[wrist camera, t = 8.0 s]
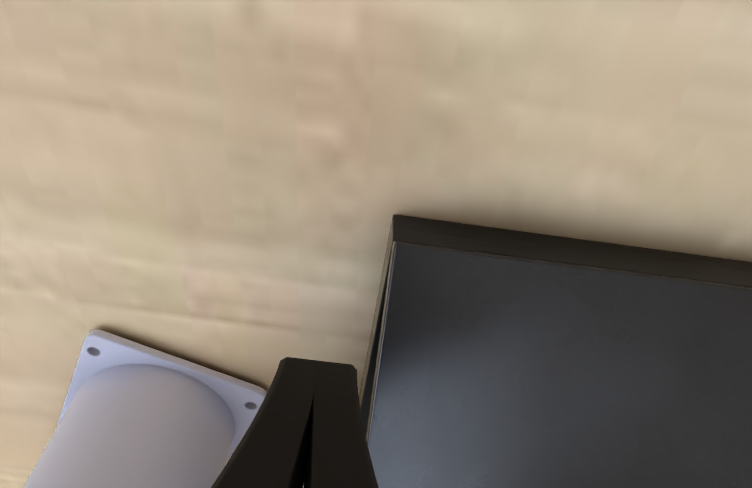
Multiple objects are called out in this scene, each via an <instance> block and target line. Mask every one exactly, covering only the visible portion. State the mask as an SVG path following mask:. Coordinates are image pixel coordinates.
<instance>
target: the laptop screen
mask: <svg viewBox="0 0 752 488" xmlns="http://www.w3.org/2000/svg"><path fill="white" fill-rule="evenodd" d="M366 440H367V445H368V449H369V453H370V457H371V461H372V465H373V468H374V472H375V476H376V480H377V483H378V487H379V488H752V287H745V286H737V285H729V284H722V283H714V282H706V281H699V280H691V279H684V278H676V277H668V276H661V275H653V274H646V273H638V272H630V271H623V270H615V269H608V268H600V267H592V266H585V265H577V264H569V263H562V262H554V261H547V260H539V259H531V258H524V257H516V256H509V255H501V254H493V253H486V252H478V251H470V250H463V249H455V248H448V247H440V246H432V245H425V244H417V243H410V242H402V241H394V242H393V245H392V252H391V259H390V266H389V274H388V281H387V288H386V296H385V303H384V310H383V317H382V325H381V332H380V339H379V347H378V354H377V361H376V369H375V376H374V383H373V390H372V398H371V405H370V412H369V420H368V427H367V434H366Z"/></svg>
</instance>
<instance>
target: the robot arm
mask: <svg viewBox="0 0 752 488" xmlns="http://www.w3.org/2000/svg"><path fill="white" fill-rule="evenodd" d="M96 348H97V349H96ZM241 439H242V440H241ZM239 442H240V443H239ZM238 444H239V445H238ZM237 445H238V446H237ZM236 447H237V448H236ZM235 448H236V450H235ZM234 450H235V451H234ZM233 451H234V453H233ZM232 453H233V455H232ZM231 455H232V456H231ZM230 456H231V458H230ZM229 458H230V460H229V461H228V459H229ZM227 461H228V463H227V464H226V462H227ZM225 465H226V466H225ZM303 484H304V488H379V487H378V483H377V480H376V476H375V472H374V468H373V465H372V461H371V457H370V453H369V449H368V445H367V440H366V436H365V431H364V426H363V421H362V416H361V410H360V403H359V396H358V386H357V370H356V369H355V368H354V366H353V365H349V364H341V363H332V362H324V361H316V360H307V359H299V358H290V357H286V358H284V359H283V360H281V361H280V364H279V366H278V369H277V372H276V375H275V377H274V379H273V381H272V384H271V386H270V388H269V390H268V392H267V391H266V390H265V389H263V388H262V387H259V386H257V385H254V384H251V383H248V382H245V381H243V380H240V379H237V378H234V377H231V376H229V375H226V374H223V373H220V372H217V371H215V370H212V369H209V368H206V367H203V366H201V365H198V364H195V363H192V362H189V361H187V360H184V359H181V358H178V357H175V356H173V355H170V354H167V353H164V352H161V351H159V350H156V349H153V348H150V347H147V346H145V345H142V344H139V343H136V342H133V341H131V340H128V339H125V338H122V337H119V336H117V335H114V334H111V333H108V332H105V331H102V330H92V331H90V332H89V333H88V334H87V336H86V338H85V339H84V343H83V346H82V349H81V352H80V355H79V358H78V361H77V364H76V367H75V371H74V374H73V377H72V380H71V383H70V386H69V389H68V392H67V395H66V399H65V402H64V405H63V408H62V411H61V414H60V417H59V420H58V423H57V427H56V430H55V432H54V434H53V435H52V437H51V439H50V441H49V442H48V444H47V446H46V448H45V449H44V451H43V453H42V455H41V456H40V458H39V460H38V462H37V463H36V465H35V467H34V469H33V470H32V472H31V474H30V476H29V477H28V479H27V481H26V483H25V484H24V486H23V488H303Z"/></svg>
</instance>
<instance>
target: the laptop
mask: <svg viewBox="0 0 752 488" xmlns="http://www.w3.org/2000/svg"><path fill="white" fill-rule="evenodd" d="M394 241H402V242H410V243H417V244H425V245H432V246H440V247H448V248H455V249H463V250H470V251H478V252H486V253H493V254H501V255H509V256H516V257H524V258H531V259H539V260H547V261H554V262H562V263H569V264H577V265H585V266H592V267H600V268H608V269H615V270H623V271H630V272H638V273H646V274H653V275H661V276H668V277H676V278H684V279H691V280H699V281H706V282H714V283H722V284H729V285H737V286H745V287H752V262H745V261H738V260H730V259H723V258H715V257H708V256H700V255H693V254H685V253H678V252H670V251H663V250H656V249H648V248H641V247H633V246H626V245H618V244H611V243H603V242H596V241H588V240H581V239H573V238H566V237H558V236H551V235H543V234H536V233H529V232H521V231H514V230H506V229H499V228H491V227H484V226H476V225H469V224H461V223H454V222H446V221H439V220H431V219H424V218H416V217H409V216H401V215H393V217H392V223H391V228H390V233H389V239H388V244H387V250H386V255H385V260H384V266H383V271H382V276H381V282H380V287H379V293H378V298H377V303H376V309H375V314H374V320H373V325H372V330H371V336H370V341H369V346H368V352H367V357H366V363H365V368H364V373H363V379H362V384H361V390H360V395H359V403H360V410H361V416H362V421H363V426H364V431H365V436H366V434H367V427H368V420H369V412H370V405H371V398H372V390H373V383H374V376H375V369H376V361H377V354H378V347H379V339H380V332H381V325H382V317H383V310H384V303H385V296H386V288H387V281H388V274H389V266H390V259H391V252H392V245H393V242H394Z"/></svg>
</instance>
